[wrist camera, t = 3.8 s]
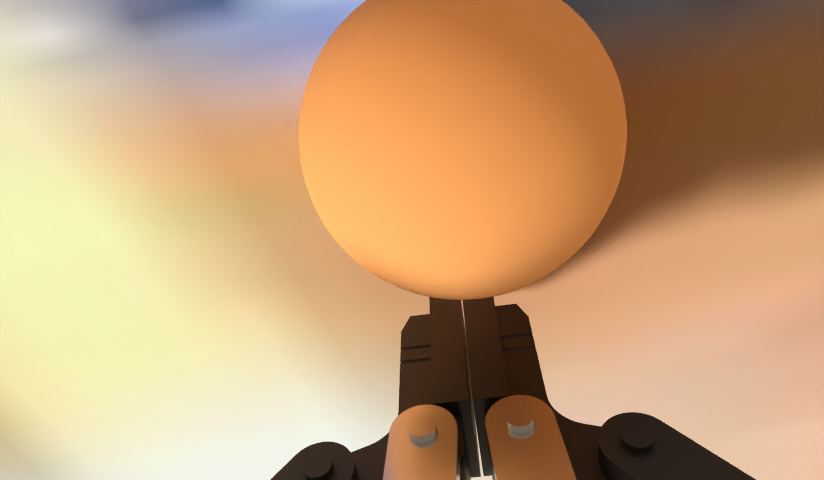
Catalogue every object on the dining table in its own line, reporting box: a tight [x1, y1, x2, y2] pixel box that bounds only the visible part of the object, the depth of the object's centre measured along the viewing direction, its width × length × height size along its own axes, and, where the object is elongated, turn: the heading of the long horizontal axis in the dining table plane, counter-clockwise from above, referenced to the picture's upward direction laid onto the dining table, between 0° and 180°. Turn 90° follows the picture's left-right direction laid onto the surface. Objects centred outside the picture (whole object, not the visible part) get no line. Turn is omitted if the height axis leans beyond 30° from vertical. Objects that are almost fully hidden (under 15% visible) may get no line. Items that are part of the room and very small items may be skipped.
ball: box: [298, 0, 627, 300], centre depth 11 cm, size 6×6×6 cm
